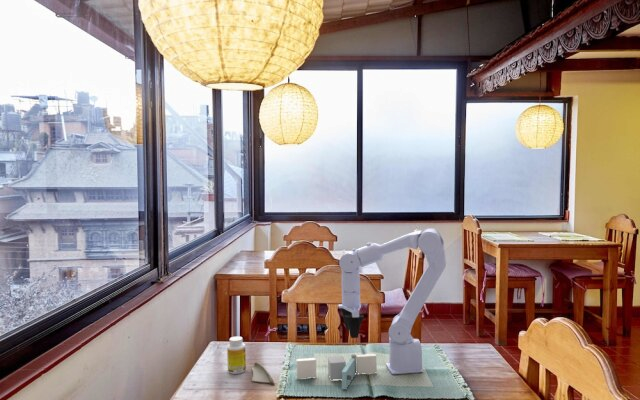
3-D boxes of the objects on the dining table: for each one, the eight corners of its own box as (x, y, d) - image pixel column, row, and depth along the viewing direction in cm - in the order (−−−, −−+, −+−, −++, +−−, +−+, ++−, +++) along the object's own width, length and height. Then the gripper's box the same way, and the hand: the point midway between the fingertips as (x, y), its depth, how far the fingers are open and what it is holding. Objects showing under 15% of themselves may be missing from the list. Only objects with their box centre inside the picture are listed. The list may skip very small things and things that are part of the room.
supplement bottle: (247, 373, 143) (246, 340, 142) (229, 376, 141) (228, 342, 140) (244, 366, 148) (243, 334, 147) (226, 369, 146) (225, 336, 146)
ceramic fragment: (275, 386, 134) (275, 372, 134) (258, 390, 132) (258, 377, 132) (257, 369, 147) (256, 357, 146) (241, 373, 144) (241, 361, 144)
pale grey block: (343, 374, 141) (343, 356, 140) (346, 380, 136) (345, 361, 136) (328, 375, 140) (328, 357, 140) (330, 381, 136) (330, 363, 135)
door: (351, 374, 139) (350, 358, 139) (358, 375, 138) (358, 358, 138) (342, 389, 130) (341, 371, 130) (349, 390, 129) (349, 372, 129)
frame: (375, 371, 142) (375, 352, 141) (376, 373, 140) (376, 354, 140) (297, 377, 139) (296, 358, 139) (297, 379, 137) (296, 360, 137)
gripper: (334, 285, 153) (335, 326, 153) (342, 297, 138) (343, 342, 139) (355, 284, 154) (356, 325, 154) (365, 295, 139) (366, 340, 140)
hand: (351, 333), depth 147 cm, fingers open, 7 cm apart
